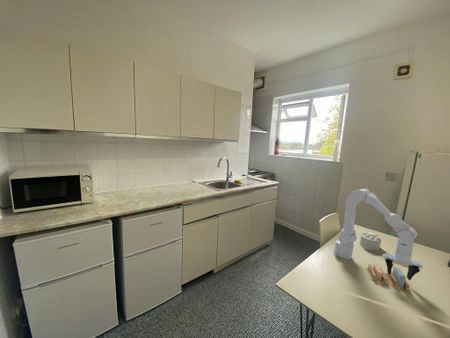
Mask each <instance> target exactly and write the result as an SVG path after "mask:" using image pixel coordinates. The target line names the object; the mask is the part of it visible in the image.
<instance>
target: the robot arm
mask: <svg viewBox="0 0 450 338" xmlns="http://www.w3.org/2000/svg"><path fill="white" fill-rule="evenodd" d="M360 202H363V203H364V204H369V205H371V206H373V207H374V208H375V209H376V210H377V211H378V212H379V213H380V214H382V215H383V217H384V221H385V222H386V223H387V224H388V225H389V226H390V227H391V228H392V229H393V230H394V231H395V232H396V235H397V237H398V239H397V242H396V247H395V252H394V254H391V255H388V254H386V253H383V254H382V259H383V260H384V261H385V264H386V268H387V269H386V272H388V274H391V271H393V268H394V263H392V261H395V262H399V263H402V264H403V265H408V268H407V274H406V279H407V280H409V281H411V280H412V279H413V277H414V276H415V275H416V274H418V273H420V271H421V270H422V269H423V264H422V262H418V261H415V260H413V259H412V256H413V251H414V246H415V239H416V238H417V236H418V232H417V230H416V229H415V228H414V227H412V226H410V224H407V223H406V222H405V221H404V220H403V219H402V217H401V215H398V214H396V213H393V212H391V211H390V210H389V209H388V208H387V206H385V205H384V203H383V202H382V201H381V200H380V199H379V198H378V197H377V195H375V193H374V192H372V191H371V190H370V189H368V188H362V189H356V190H354V191H351V192H350V193H349V195H348V196H347V197H346V199H345V206H344V218H343V227H342V228H341V231H340V234H339V235H338V240H335V242H334V249H333V253H334V256H336V257H340V258H342V259H345V260H352V257H353V253H354V252H353V251H354V247H355V245H354V243H355V242H356V241H357V235H356V230H355V223H356V222H355V220H356V214H357V213H356V212H357V211H356V210H357V204H359V203H360ZM420 269H421V270H420Z"/></svg>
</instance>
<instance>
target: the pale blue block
mask: <svg viewBox="0 0 450 338" xmlns="http://www.w3.org/2000/svg"><path fill="white" fill-rule="evenodd" d="M392 273H393V275H394V276H395V278H396V280H397V281H398V287H401V288H403V287H404V282H405V279H407V276H405V274H404V272H403V271H402V270H401V268H400V267H399V266H395V265H393V267H392Z"/></svg>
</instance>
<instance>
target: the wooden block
mask: <svg viewBox="0 0 450 338" xmlns="http://www.w3.org/2000/svg"><path fill="white" fill-rule="evenodd" d="M372 267H373V270H374V272H375V274H376V276H377V277H376V280H379V281H381V279H382V274H383V273H382V271H381V269H382V268H381V269H380V266H379V264H376V263H373V265H372Z"/></svg>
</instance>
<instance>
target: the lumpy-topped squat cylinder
mask: <svg viewBox="0 0 450 338" xmlns="http://www.w3.org/2000/svg"><path fill="white" fill-rule="evenodd" d="M381 244H382V237H381V236H380V235H378V234H376V233H373V232H370V231H369V232H368V231H363V232H362V233H361V235H360V240H359V245H360V246H361V247H362V249H365V250H368V251H372V252H373V251H375V252H377V251H379V250H380V249H381Z"/></svg>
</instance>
